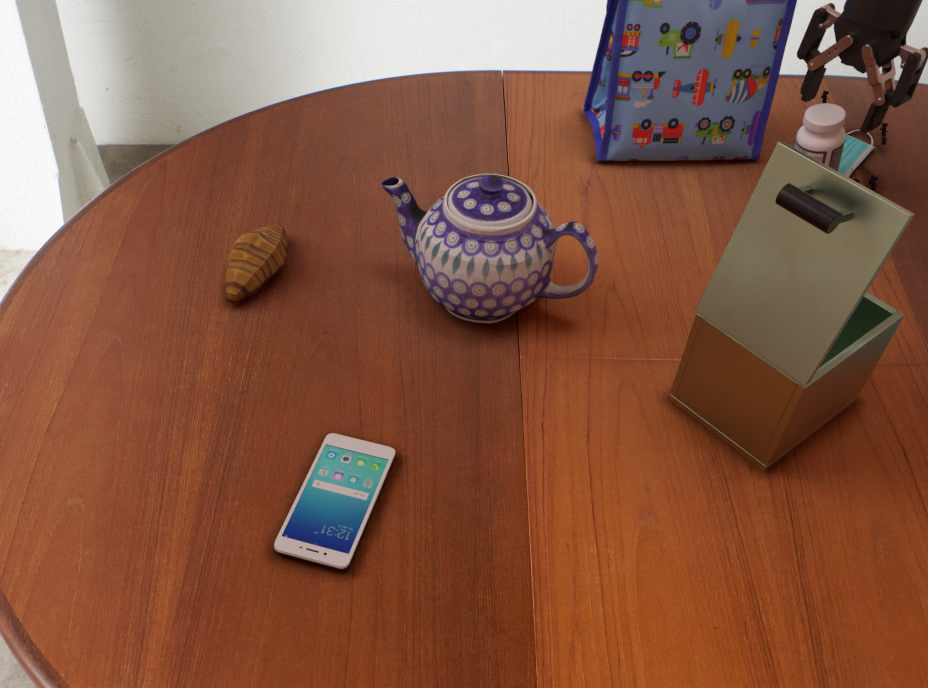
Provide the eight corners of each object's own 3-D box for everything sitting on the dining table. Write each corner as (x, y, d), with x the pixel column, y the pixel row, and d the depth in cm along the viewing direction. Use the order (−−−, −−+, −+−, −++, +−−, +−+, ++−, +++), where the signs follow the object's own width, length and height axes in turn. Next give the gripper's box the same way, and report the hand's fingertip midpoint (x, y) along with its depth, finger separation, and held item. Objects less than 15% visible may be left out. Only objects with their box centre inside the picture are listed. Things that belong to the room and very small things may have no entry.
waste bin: (761, 335, 105) (797, 248, 95) (856, 400, 99) (905, 314, 90) (667, 399, 99) (696, 313, 89) (763, 471, 93) (805, 388, 84)
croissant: (261, 315, 105) (255, 280, 101) (206, 301, 107) (199, 266, 103) (308, 243, 113) (304, 208, 109) (256, 231, 114) (251, 196, 110)
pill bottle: (821, 167, 123) (837, 95, 115) (842, 191, 119) (860, 119, 112) (779, 178, 123) (792, 107, 115) (799, 202, 119) (814, 131, 112)
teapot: (607, 288, 109) (633, 174, 97) (558, 371, 101) (580, 258, 89) (414, 224, 116) (416, 110, 104) (353, 298, 107) (348, 183, 95)
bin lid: (782, 140, 78) (751, 146, 75) (915, 214, 72) (887, 223, 70) (699, 308, 89) (670, 319, 86) (809, 383, 83) (781, 397, 81)
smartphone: (398, 448, 93) (347, 569, 84) (398, 453, 94) (348, 574, 85) (327, 430, 94) (270, 548, 85) (328, 436, 95) (271, 553, 86)
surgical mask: (820, 85, 129) (897, 97, 127) (810, 115, 132) (884, 127, 130) (812, 168, 117) (896, 183, 115) (801, 199, 120) (882, 213, 118)
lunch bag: (733, 108, 133) (804, -125, 109) (758, 164, 124) (841, -74, 101) (580, 110, 132) (619, -124, 108) (596, 167, 123) (642, -74, 100)
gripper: (973, -11, 99) (904, 130, 112) (859, -60, 105) (807, 79, 118) (933, 9, 96) (868, 152, 109) (818, -42, 102) (769, 99, 115)
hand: (836, 114), depth 113 cm, fingers open, 8 cm apart
